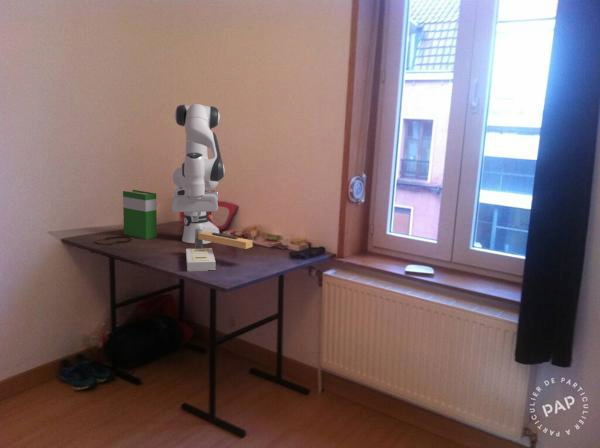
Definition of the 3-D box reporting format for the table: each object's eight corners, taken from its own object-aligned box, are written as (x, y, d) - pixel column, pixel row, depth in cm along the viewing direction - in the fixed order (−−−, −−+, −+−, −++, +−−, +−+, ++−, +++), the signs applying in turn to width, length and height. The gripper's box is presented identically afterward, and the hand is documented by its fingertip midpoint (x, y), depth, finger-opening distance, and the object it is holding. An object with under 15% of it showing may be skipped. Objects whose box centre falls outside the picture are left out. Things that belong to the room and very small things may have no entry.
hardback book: (123, 234, 287) (122, 191, 283) (134, 232, 294) (133, 189, 289) (146, 239, 278) (145, 194, 274) (156, 237, 285) (156, 193, 280)
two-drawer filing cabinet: (185, 254, 252) (185, 237, 251) (211, 253, 255) (211, 237, 254) (187, 271, 225) (187, 253, 223) (215, 270, 228) (215, 252, 226)
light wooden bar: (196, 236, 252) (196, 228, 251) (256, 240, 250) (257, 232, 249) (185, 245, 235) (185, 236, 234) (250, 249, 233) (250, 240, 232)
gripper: (217, 189, 234) (217, 219, 237) (170, 189, 229) (171, 220, 232) (219, 191, 228) (219, 222, 231) (171, 191, 223) (171, 223, 226)
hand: (194, 221), depth 231 cm, fingers closed
